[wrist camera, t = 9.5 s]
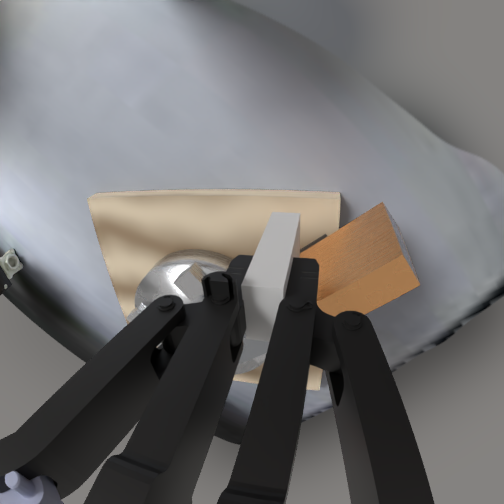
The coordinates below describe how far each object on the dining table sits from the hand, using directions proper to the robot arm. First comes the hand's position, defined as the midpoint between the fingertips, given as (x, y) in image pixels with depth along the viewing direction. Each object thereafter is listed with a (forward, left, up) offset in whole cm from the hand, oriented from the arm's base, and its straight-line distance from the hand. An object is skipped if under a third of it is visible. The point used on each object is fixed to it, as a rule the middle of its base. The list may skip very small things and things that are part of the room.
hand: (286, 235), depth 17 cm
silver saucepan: (+7, -3, -5) cm, 10 cm away
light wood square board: (+11, -8, -7) cm, 15 cm away
